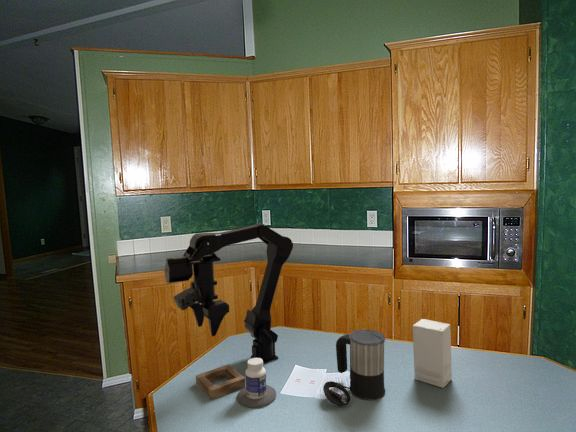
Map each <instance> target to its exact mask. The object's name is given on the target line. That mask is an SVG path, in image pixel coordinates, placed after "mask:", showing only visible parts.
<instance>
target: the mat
mask: <svg viewBox="0 0 576 432" xmlns="http://www.w3.org/2000/svg"><path fill="white" fill-rule="evenodd" d="M236 395H237V396H236V397H237V402H238V404H239V405H241V406H243V407H245V408H250V409H258V408H259V409H260V408H264V407H267V406H269V405H271V404H272V403H274V402H275V400H276V398H277V391H276V389H275V388H274V387H273V386H270V385H267V384H266V395H265V396H264V397H263V398H260V399H250V398H248V397H247V395H246V386H245V387H244V388H241V389H239V391H238V393H237V394H236Z"/></svg>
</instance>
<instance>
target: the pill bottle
mask: <svg viewBox="0 0 576 432" xmlns="http://www.w3.org/2000/svg"><path fill="white" fill-rule="evenodd" d="M244 375H245V376H244V377H245V387H246V395H247V397H248V398H250V399H260V398H263V397H264V396H265V395H266V385H267V370H266V368H265V367H264V364H263V360H262V359H261V358H250V359H248V360H247V368H246V369H245V374H244Z"/></svg>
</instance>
